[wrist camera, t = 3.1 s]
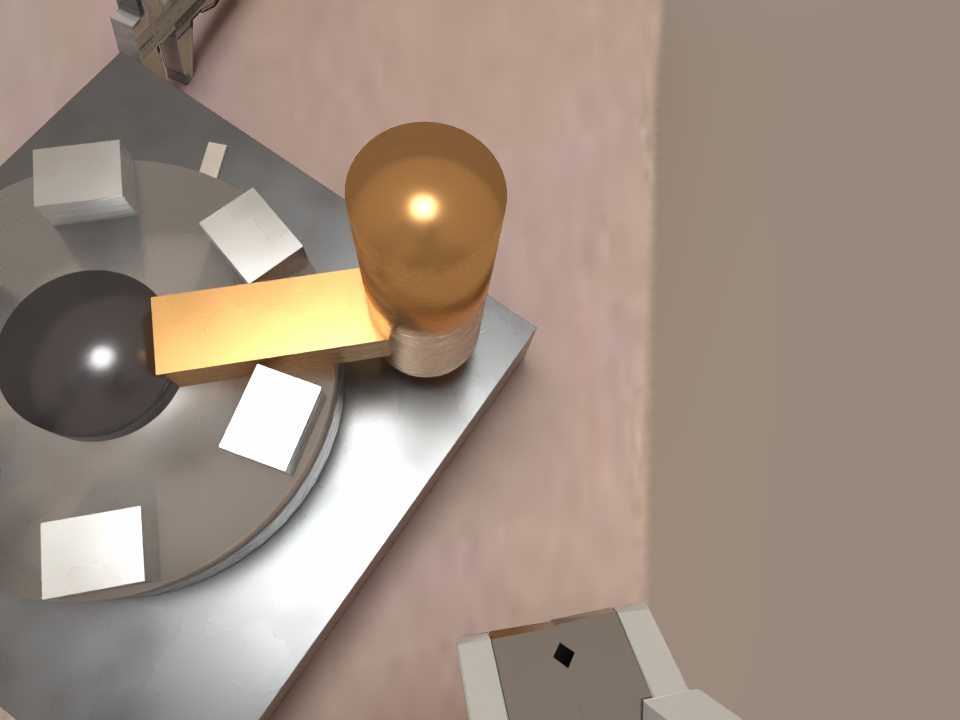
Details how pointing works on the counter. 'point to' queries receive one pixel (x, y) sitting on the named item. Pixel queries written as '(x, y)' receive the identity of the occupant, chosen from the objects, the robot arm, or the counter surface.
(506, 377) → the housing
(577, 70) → the counter surface
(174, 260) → the rotary crank dial
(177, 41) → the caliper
